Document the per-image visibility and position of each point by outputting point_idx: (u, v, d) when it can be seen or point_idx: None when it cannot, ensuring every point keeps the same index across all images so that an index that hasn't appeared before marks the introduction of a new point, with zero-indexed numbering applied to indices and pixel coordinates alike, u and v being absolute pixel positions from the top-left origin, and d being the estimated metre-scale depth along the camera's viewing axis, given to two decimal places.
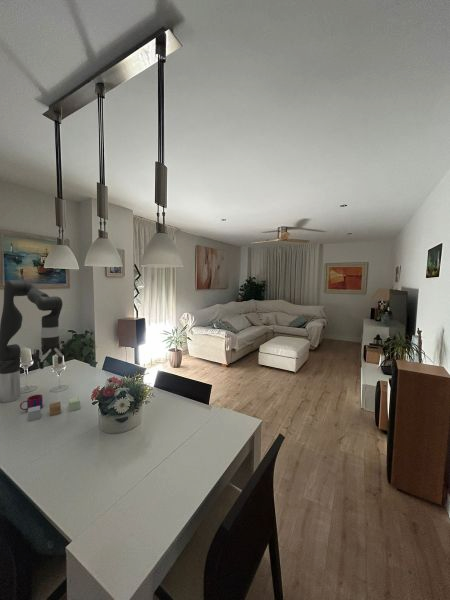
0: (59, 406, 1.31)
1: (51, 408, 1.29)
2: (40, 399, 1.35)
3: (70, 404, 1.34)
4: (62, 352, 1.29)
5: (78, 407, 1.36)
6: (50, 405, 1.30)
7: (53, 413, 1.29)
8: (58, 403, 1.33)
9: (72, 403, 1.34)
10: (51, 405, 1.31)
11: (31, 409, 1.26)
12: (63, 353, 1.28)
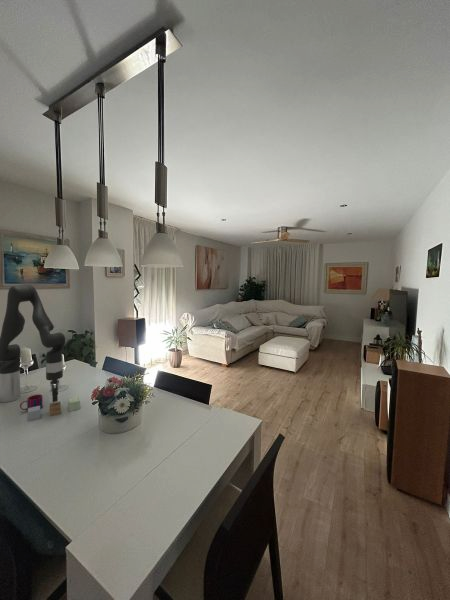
0: (59, 406, 1.31)
1: (51, 408, 1.29)
2: (40, 399, 1.35)
3: (70, 404, 1.34)
4: None
5: (78, 407, 1.36)
6: (50, 405, 1.30)
7: (53, 413, 1.29)
8: (58, 403, 1.33)
9: (72, 403, 1.34)
10: (51, 405, 1.31)
11: (31, 409, 1.26)
12: None
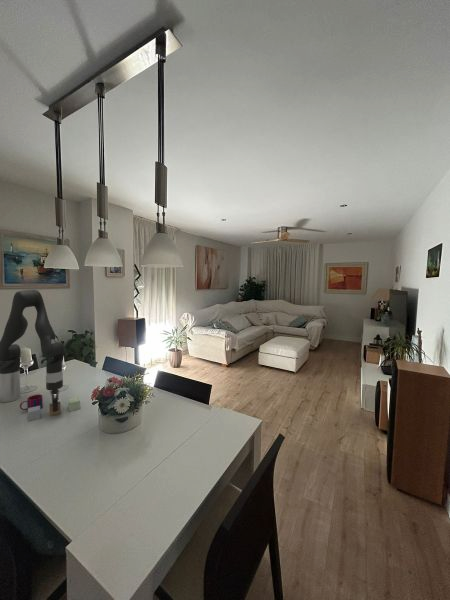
0: (59, 406, 1.31)
1: (51, 408, 1.29)
2: (40, 399, 1.35)
3: (70, 404, 1.34)
4: None
5: (78, 407, 1.36)
6: (50, 405, 1.30)
7: (53, 413, 1.29)
8: (58, 403, 1.33)
9: (72, 403, 1.34)
10: (51, 405, 1.31)
11: (31, 409, 1.26)
12: None
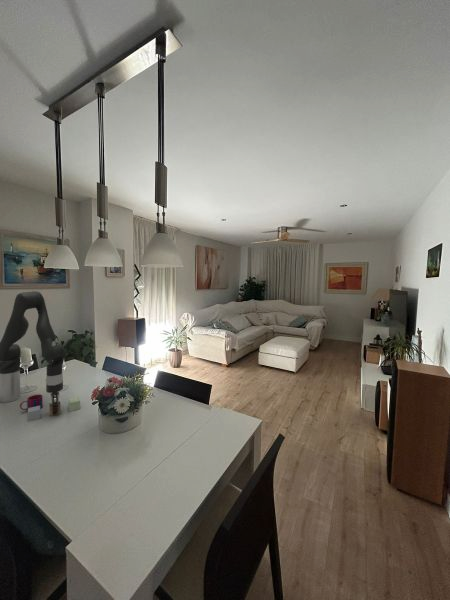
0: (59, 406, 1.31)
1: (51, 408, 1.29)
2: (40, 399, 1.35)
3: (70, 404, 1.34)
4: None
5: (78, 407, 1.36)
6: (50, 405, 1.30)
7: None
8: (58, 403, 1.33)
9: (72, 403, 1.34)
10: (51, 405, 1.31)
11: (31, 409, 1.26)
12: None
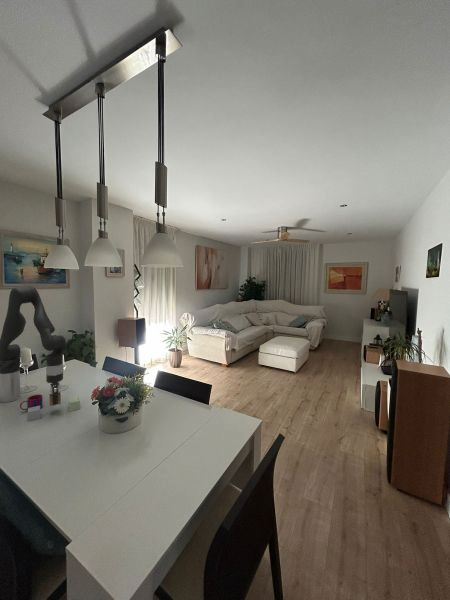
0: (59, 396, 1.31)
1: (51, 398, 1.29)
2: (40, 399, 1.35)
3: (70, 404, 1.34)
4: None
5: (78, 407, 1.36)
6: (50, 395, 1.30)
7: None
8: (58, 393, 1.33)
9: (72, 403, 1.34)
10: (51, 395, 1.30)
11: (31, 409, 1.26)
12: None
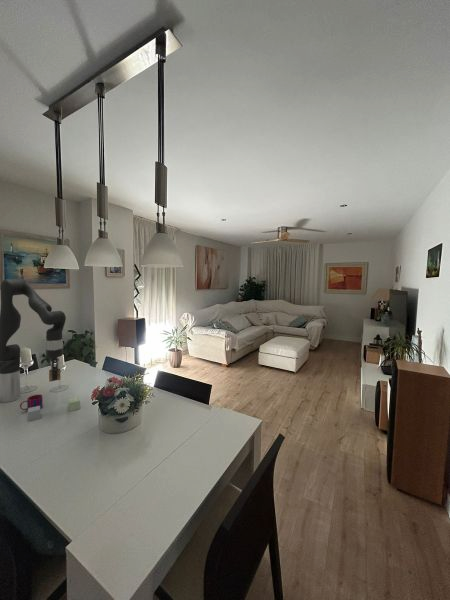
0: (59, 372, 1.30)
1: (51, 373, 1.28)
2: (40, 399, 1.35)
3: (70, 404, 1.34)
4: None
5: (78, 407, 1.36)
6: (50, 371, 1.29)
7: None
8: (58, 369, 1.31)
9: (72, 403, 1.34)
10: (51, 370, 1.29)
11: (31, 409, 1.26)
12: None
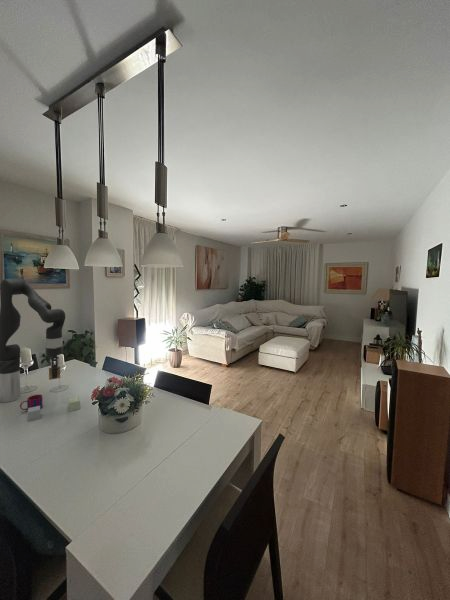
0: (59, 370, 1.30)
1: (50, 371, 1.27)
2: (40, 399, 1.35)
3: (70, 404, 1.34)
4: None
5: (78, 407, 1.36)
6: (49, 369, 1.29)
7: None
8: (58, 367, 1.31)
9: (72, 403, 1.34)
10: (51, 369, 1.29)
11: (31, 409, 1.26)
12: None
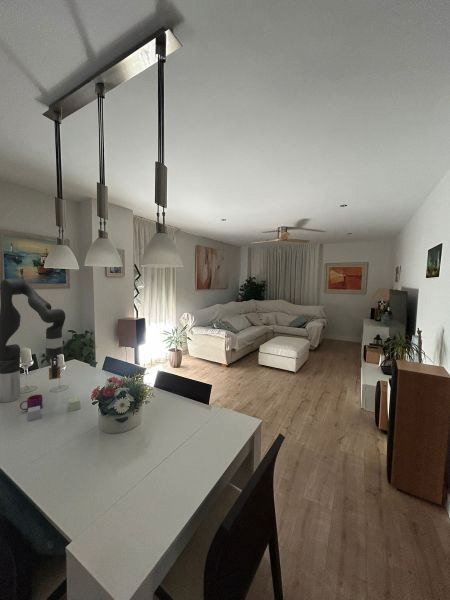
0: (59, 370, 1.30)
1: (50, 371, 1.27)
2: (40, 399, 1.35)
3: (70, 404, 1.34)
4: None
5: (78, 407, 1.36)
6: (49, 369, 1.29)
7: None
8: (58, 367, 1.31)
9: (72, 403, 1.34)
10: (51, 369, 1.29)
11: (31, 409, 1.26)
12: None
